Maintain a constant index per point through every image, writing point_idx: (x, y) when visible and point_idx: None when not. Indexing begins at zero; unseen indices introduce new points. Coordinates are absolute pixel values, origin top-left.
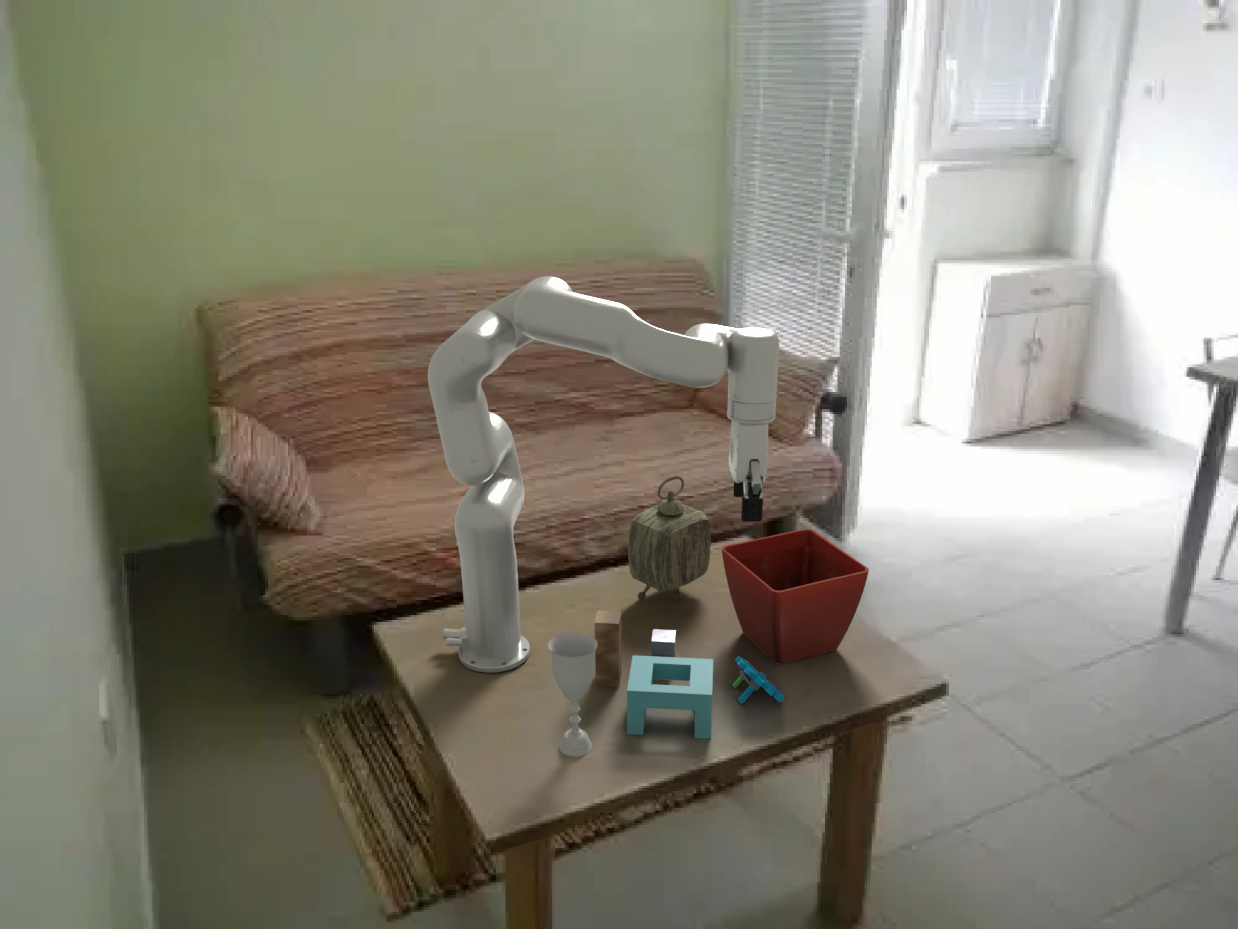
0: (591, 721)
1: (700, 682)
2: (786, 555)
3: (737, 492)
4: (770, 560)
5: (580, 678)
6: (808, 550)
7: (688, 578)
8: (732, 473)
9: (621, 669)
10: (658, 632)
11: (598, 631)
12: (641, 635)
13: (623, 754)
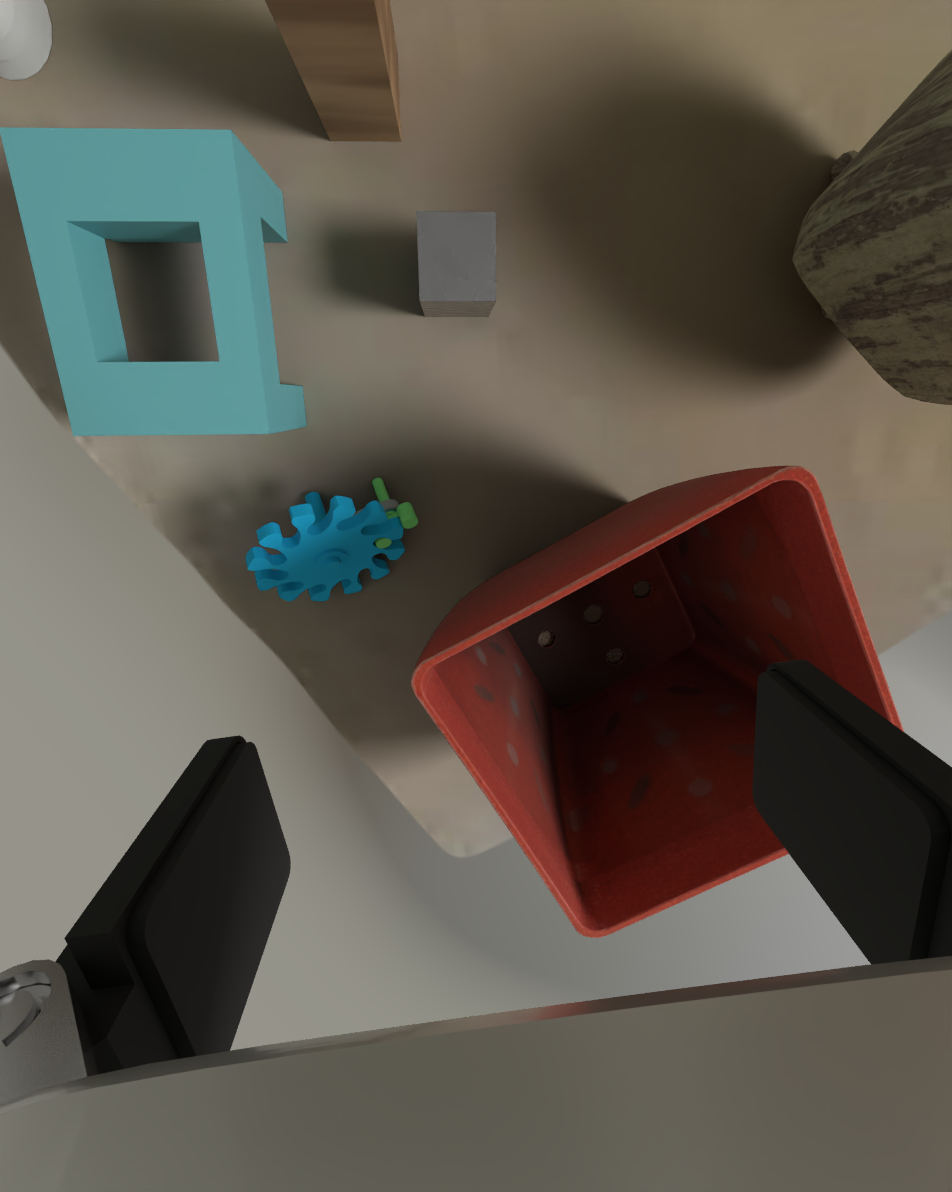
0: (135, 61)
1: (127, 397)
2: None
3: (783, 712)
4: (801, 628)
5: None
6: None
7: (854, 330)
8: (322, 1146)
9: (395, 134)
10: (476, 235)
11: None
12: (618, 193)
13: None
